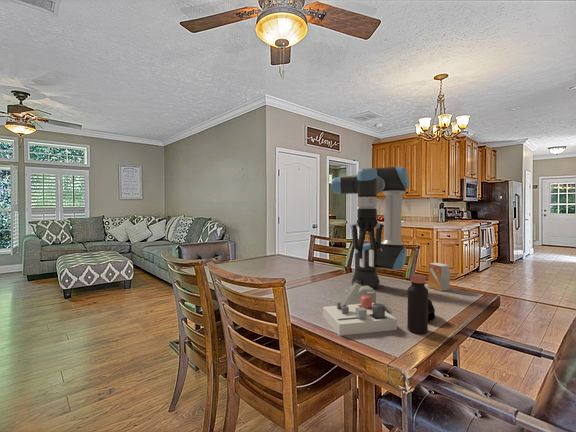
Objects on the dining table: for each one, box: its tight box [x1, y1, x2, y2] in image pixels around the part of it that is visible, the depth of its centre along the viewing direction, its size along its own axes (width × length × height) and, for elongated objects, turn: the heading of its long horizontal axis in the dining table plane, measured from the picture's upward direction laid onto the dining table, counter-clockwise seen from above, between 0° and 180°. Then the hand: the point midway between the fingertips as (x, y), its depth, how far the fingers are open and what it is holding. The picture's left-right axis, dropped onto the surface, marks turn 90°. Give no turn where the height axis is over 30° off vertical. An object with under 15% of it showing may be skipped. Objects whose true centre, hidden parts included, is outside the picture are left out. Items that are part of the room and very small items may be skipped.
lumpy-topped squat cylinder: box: [344, 285, 377, 305], centre depth 136 cm, size 10×13×9 cm
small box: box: [427, 262, 451, 292], centre depth 161 cm, size 8×6×13 cm
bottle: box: [406, 273, 429, 335], centre depth 109 cm, size 7×7×20 cm
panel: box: [322, 301, 398, 336], centre depth 117 cm, size 22×18×6 cm
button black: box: [373, 303, 386, 319], centre depth 113 cm, size 4×4×6 cm
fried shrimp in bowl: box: [428, 298, 436, 322], centre depth 124 cm, size 9×11×18 cm
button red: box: [361, 296, 372, 309], centre depth 123 cm, size 4×4×6 cm
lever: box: [340, 280, 361, 308], centre depth 119 cm, size 2×3×13 cm
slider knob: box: [356, 307, 367, 319], centre depth 111 cm, size 3×3×3 cm
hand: (366, 266), depth 122 cm, fingers open, 3 cm apart
